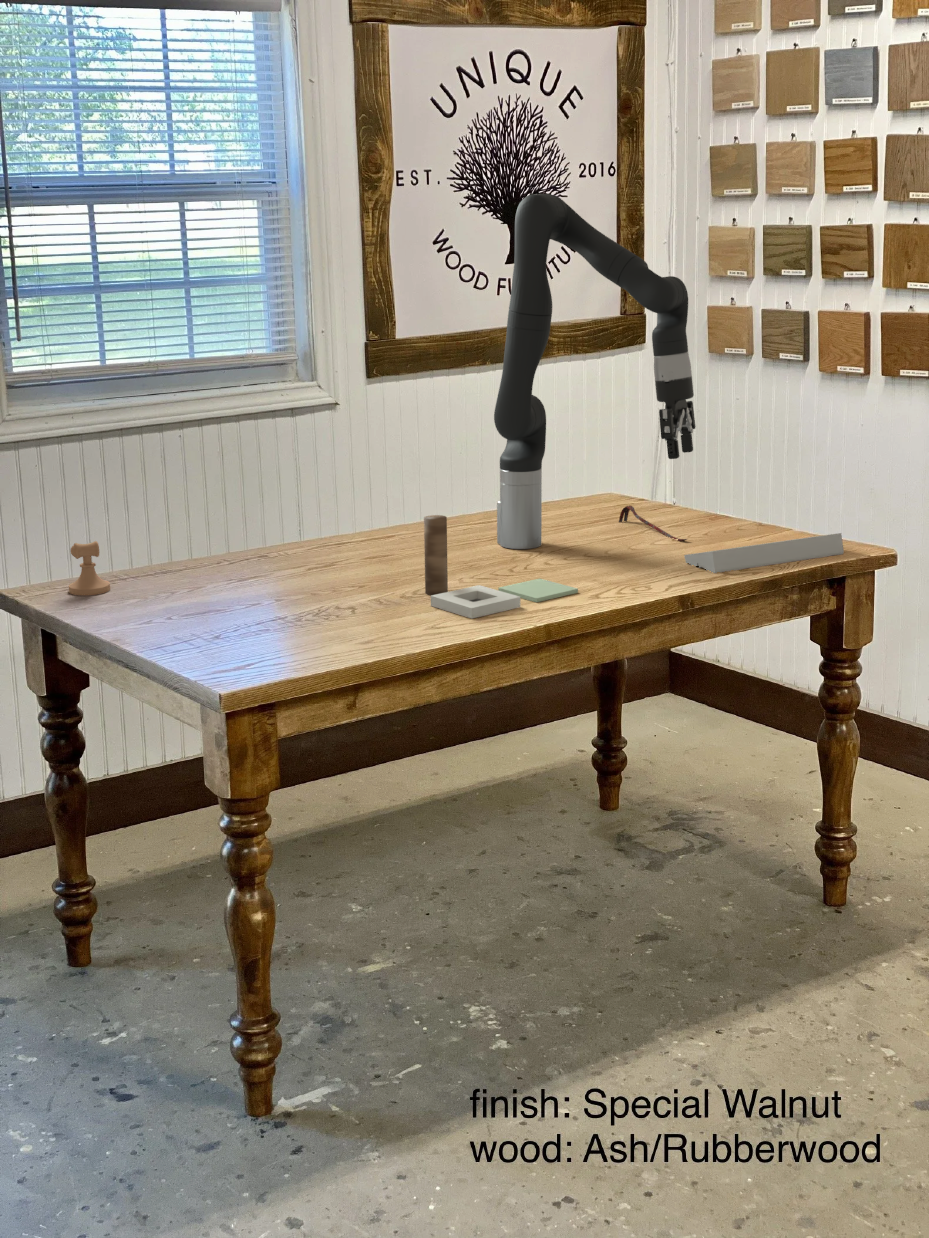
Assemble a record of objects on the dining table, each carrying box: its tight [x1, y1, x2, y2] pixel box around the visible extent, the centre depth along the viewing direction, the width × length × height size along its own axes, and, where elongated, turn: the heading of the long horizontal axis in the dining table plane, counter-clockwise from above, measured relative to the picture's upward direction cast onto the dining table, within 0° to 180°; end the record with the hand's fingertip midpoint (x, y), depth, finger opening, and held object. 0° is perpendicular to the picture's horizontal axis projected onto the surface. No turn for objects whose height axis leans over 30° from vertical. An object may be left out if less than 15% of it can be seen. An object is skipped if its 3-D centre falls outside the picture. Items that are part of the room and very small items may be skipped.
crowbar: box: [618, 505, 688, 542], centre depth 336 cm, size 26×2×5 cm, turn 27°
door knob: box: [68, 540, 111, 596], centre depth 288 cm, size 8×10×8 cm
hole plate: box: [430, 584, 521, 620], centre depth 274 cm, size 12×12×2 cm
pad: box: [497, 577, 579, 603], centre depth 283 cm, size 11×11×1 cm
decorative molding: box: [683, 532, 845, 574], centre depth 308 cm, size 34×5×10 cm
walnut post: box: [423, 514, 449, 596], centre depth 282 cm, size 4×4×15 cm
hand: (680, 455), depth 300 cm, fingers open, 8 cm apart
